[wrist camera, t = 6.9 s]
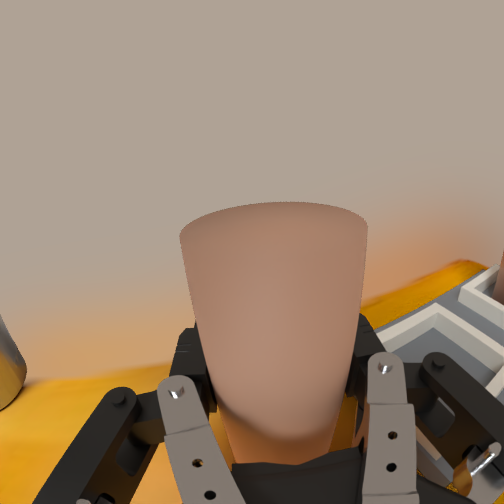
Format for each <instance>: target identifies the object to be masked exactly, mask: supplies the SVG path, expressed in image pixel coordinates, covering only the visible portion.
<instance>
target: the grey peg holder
mask: <svg viewBox="0 0 504 504" xmlns="http://www.w3.org/2000/svg"><path fill="white" fill-rule="evenodd" d="M374 332H375V333H376V335H377V336H378V338H379V339H380V341H381V343H382V344H383V346H384V348H385V349H386V351H387V352H390V353H393V354H395V355H397V356H398V357H399V358H400V359H401V360H402V362H405V363H422V361H423V359H424V357H425V356H426V355H427V354H429V353H431V352H441V353H444V354H446V355H448V356H449V357H450V358H451V359H453V360H454V361H455V362H456V363H457V364H458V365H460V366H461V367H462V368H463V369H464V370H465V371H466V372H468V373H469V374H470V375H471V376H472V377H473V378H474V379H476V380H477V381H478V382H479V383H480V384H481V385H482V386H483V387H484V388H486V389H487V390H488V391H489V392H490V393H491V394H492V395H493V396H494V397H495V398H496V399H498V400H499V401H500V402H501V403H502V404H503V405H504V252H503V257H502V261H501V265H498V264H495V265H493V266H492V267H490V268H489V269H488V270H486V271H485V270H481V271H480V272H478V273H477V274H475V275H474V276H472V277H471V278H469V279H468V280H466V281H464V282H463V283H461V284H460V285H458V286H456V287H455V288H453V289H451V290H450V291H448V292H446V293H444V294H443V295H441V296H439V297H438V298H436V299H434V300H432V301H430V302H429V303H427V304H425V305H423V306H421V307H419V308H418V309H416V310H414V311H412V312H410V313H408V314H406V315H404V316H402V317H400V318H398V319H396V320H394V321H392V322H390V323H388V324H386V325H384V326H382V327H380V328H377V329H375V330H374ZM354 397H355V398H356V396H354ZM356 399H357V398H356ZM438 400H439V401H440V402H441V403H442V404H443V405H444V406H445V407H446V408H447V409H448V410H449V411H450V412H451V413H452V414H453V415H454V416H455V414H454V412H453V411H452V410H451V409H450V408H449V407H448V406H447V405H446V404H445V403H444V402H443V400H442V399H441V398H440V397H439V399H438ZM357 401H358V400H357ZM415 429H416V468H417V469H418V470H419V471H420V472H421V473H422V474H423V475H424V477H425V478H426V479H428V480H430V481H432V482H434V483H436V484H438V485H441V486H443V487H446V486H448V485H449V484H450V483H451V482H452V481H453V472H454V470H453V469H452V467H451V466H450V465H449V464H448V463H447V461H446V460H445V459H444V458H443V457H442V456H441V454H440V453H439V452H438V451H437V450H436V448H435V447H434V446H433V445H432V444H431V443H430V441H429V440H428V439H427V438H426V437H425V436H424V434H423V433H422V432H421V431H420V430H419V429H418V427H417V426H416V425H415Z"/></svg>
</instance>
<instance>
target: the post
mask: <svg viewBox="0 0 504 504" xmlns="http://www.w3.org/2000/svg"><path fill="white" fill-rule="evenodd" d="M367 228H368V226H367V223H366V221H365V220H364V219H363V218H362V217H360V216H359V215H357V214H355V213H353V212H351V211H349V210H346V209H343V208H339V207H334V206H330V205H324V204H317V203H306V202H272V203H258V204H250V205H243V206H237V207H232V208H228V209H224V210H220V211H216V212H213V213H210V214H207V215H205V216H203V217H200V218H198V219H196V220H194V221H192V222H191V223H189V224H188V225H186V226H185V227H184V228H183V229H182V231H181V233H180V243H181V249H182V253H183V260H184V265H185V270H186V275H187V280H188V286H189V290H190V295H191V300H192V305H193V309H194V314H195V318H196V323H197V327H198V331H199V336H200V340H201V344H202V348H203V352H204V356H205V360H206V364H207V368H208V372H209V375H210V379H211V383H212V386H213V390H214V394H215V397H216V401H217V404H218V408H219V411H220V414H221V418H222V421H223V424H224V428H225V431H226V434H227V437H228V440H229V443H230V446H231V449H232V452H233V455H234V458H235V461H236V463H256V462H268V463H277V464H288V465H299V464H302V463H305V462H307V461H310V460H312V459H315V458H317V457H320V456H322V455H324V454H327V453H328V451H329V448H330V445H331V442H332V438H333V435H334V431H335V428H336V424H337V420H338V417H339V413H340V409H341V405H342V401H343V397H344V393H345V388H346V384H347V379H348V375H349V370H350V365H351V360H352V355H353V349H354V344H355V338H356V332H357V325H358V319H359V312H360V305H361V297H362V288H363V279H364V269H365V258H366V245H367Z"/></svg>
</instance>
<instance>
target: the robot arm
mask: <svg viewBox="0 0 504 504" xmlns="http://www.w3.org/2000/svg"><path fill="white" fill-rule="evenodd" d="M26 373H27V368H26V363H25V361H24V359H23V357H22V355H21V354H20V352H19V350H18V348H17V346H16V344H15V342H14V341H13V339H12V338H11V336H10V334H9V332H8V330H7V328H6V326H5V324H4V322H3V320H2V317H1V315H0V410H1V409H2V408H4V407H5V406H7V405H8V404H9V403H10V402H11V401H12V400H13V399H14V398H15V396H16V395H17V394H18V393H19V391H20V389H21V387H22V386H23V383H24V381H25V378H26ZM345 392H346V395H347V397H352V396H356V398H357V400H358V401H357V405H356V412H355V422H354V431H353V440H352V445H351V448H348V449H344V450H339V451H335V452H330V453H327V454H324V455H322V456H320V457H317V458H315V459H312V460H310V461H307V462H305V463H302V464H299V465H288V464H277V463H268V462H256V463H236V464H232V471H230V470H229V468H228V466H227V464H226V462H225V459H224V457H223V455H222V453H221V450H220V448H219V446H218V443H217V441H216V439H215V436H214V434H213V431H212V429H211V426H210V424H209V413H216V412H217V401H216V397H215V394H214V390H213V386H212V383H211V379H210V375H209V372H208V368H207V364H206V360H205V356H204V352H203V348H202V344H201V340H200V336H199V331H198V327H197V323H196V322H195V326H194V328H186V329H185V330H184V331H183V332H182V333H181V335H180V336H179V339H178V343H177V347H176V353H175V354H174V358H173V362H172V366H171V370H170V374H169V377H168V378H166V379H164V380H163V381H162V382H161V383H160V384H159V386H158V388H157V390H155V391H152V392H148V393H143V394H139V395H136V394H135V392H134V391H133V390H132V389H130V388H128V387H117V388H114V389H112V390H110V391H109V392H107V393H106V395H105V396H104V397H103V399H102V400H101V401H100V403H99V404H98V406H97V407H96V408H95V410H94V411H93V413H92V414H91V415H90V417H89V418H88V420H87V421H86V423H85V424H84V425H83V427H82V428H81V430H80V431H79V433H78V434H77V436H76V437H75V439H74V440H73V441H72V443H71V444H70V446H69V447H68V449H67V450H66V452H65V453H64V455H63V456H62V458H61V459H60V461H59V462H58V464H57V465H56V467H55V468H54V470H53V471H52V473H51V474H50V476H49V478H48V479H47V481H46V482H45V484H44V485H43V487H42V488H41V490H40V492H39V493H38V495H37V496H36V498H35V500H34V501H33V503H32V504H130V502H131V500H132V498H133V496H134V494H135V491H136V489H137V487H138V485H139V483H140V481H141V479H142V477H143V475H144V473H145V471H146V469H147V467H148V465H149V463H150V461H151V459H152V457H153V455H154V453H155V451H156V449H157V447H158V445H159V443H162V442H165V445H166V449H167V452H168V456H169V460H170V463H171V467H172V470H173V473H174V477H175V480H176V483H177V486H178V489H179V492H180V495H181V498H182V501H183V503H182V504H493V503H494V502H495V501H496V499H497V498H498V497H499V496H500V495H501V494H502V493H503V491H504V405H503V404H502V403H501V402H500V401H499V400H498V399H496V398H495V397H494V396H493V395H492V394H491V393H490V392H489V391H488V390H487V389H486V388H484V387H483V386H482V385H481V384H480V383H479V382H478V381H477V380H476V379H474V378H473V377H472V376H471V375H470V374H469V373H468V372H466V371H465V370H464V369H463V368H462V367H461V366H460V365H458V364H457V363H456V362H455V361H454V360H453V359H451V358H450V357H449V356H448V355H446V354H444V353H441V352H431V353H429V354H427V355H426V356H425V357H424V359H423V361H422V363H405V362H402V360H401V359H400V358H399V357H398V356H397V355H395V354H393V353H390V352H387V351H386V349H385V348H384V346H383V344H382V343H381V341H380V339H379V338H378V336H377V335H376V333H375V332H374V330H373V328H372V327H371V326H370V323H369V322H368V320H367V319H366V317H365V316H363V315H362V314H361V313H359V319H358V325H357V332H356V338H355V344H354V349H353V355H352V360H351V365H350V370H349V375H348V379H347V384H346V388H345ZM439 397H440V398H441V399H442V400H443V402H444V403H445V404H446V405H447V406H448V407H449V408H450V409H451V410H452V411H453V412H454V414H455V416H454V415H453V414H452V413H451V412H450V411H449V410H448V409H447V408H446V407H445V406H444V405H443V404H442V403H441V402H440V401H439V400H438V399H439ZM415 425H416V426H417V427H418V429H419V430H420V431H421V432H422V433H423V434H424V436H425V437H426V438H427V439H428V440H429V441H430V443H431V444H432V445H433V446H434V447H435V448H436V450H437V451H438V452H439V453H440V454H441V456H442V457H443V458H444V459H445V460H446V461H447V463H448V464H449V465H450V466H451V467H452V469H453V470H454V472H453V481H452V485H453V487H454V488H457V491H458V493H456V492H454V491H451V490H449V489H447V488H445V487H443V486H441V485H438V484H436V483H434V482H432V481H430V480H428V479H426V478H424V477H422V476H420V475H418V474H416V429H415Z"/></svg>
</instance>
